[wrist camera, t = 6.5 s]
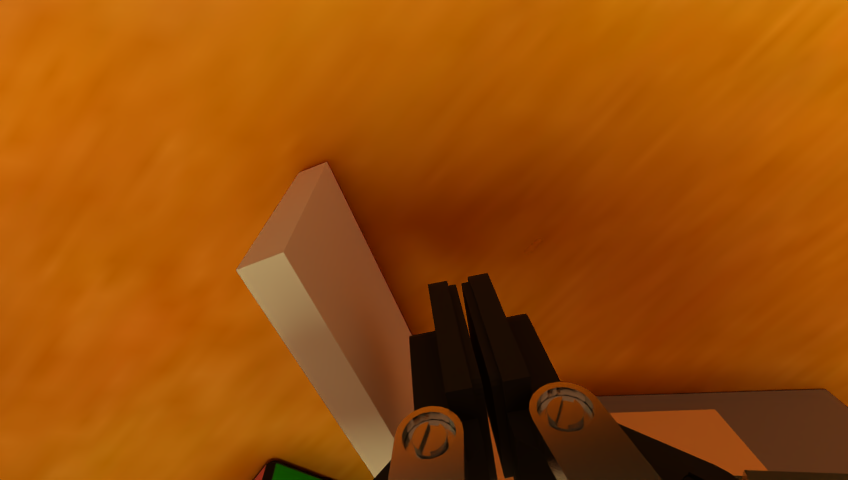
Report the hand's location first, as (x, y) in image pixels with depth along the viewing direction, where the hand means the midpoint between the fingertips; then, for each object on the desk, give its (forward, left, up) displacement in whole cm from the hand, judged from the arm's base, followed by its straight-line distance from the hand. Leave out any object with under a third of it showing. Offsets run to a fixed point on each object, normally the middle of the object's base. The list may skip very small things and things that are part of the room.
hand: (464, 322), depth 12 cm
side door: (+2, +3, -4) cm, 6 cm away
